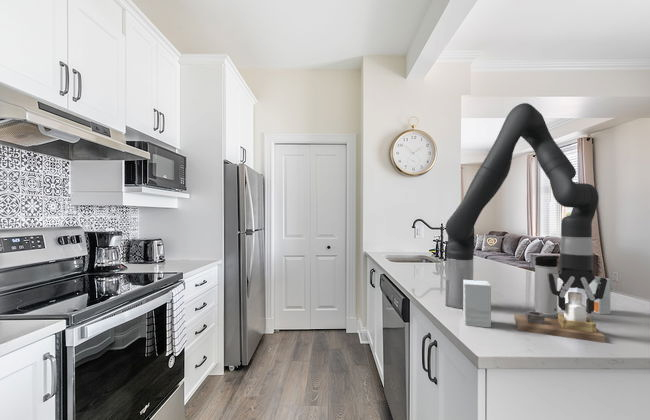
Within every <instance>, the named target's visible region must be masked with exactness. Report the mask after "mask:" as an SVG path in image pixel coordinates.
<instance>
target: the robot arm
mask: <svg viewBox="0 0 650 420" xmlns="http://www.w3.org/2000/svg"><path fill="white" fill-rule="evenodd" d="M520 138H522V139H523V140H524V141H526V142H527V144H529V146H530V147H531V148H532V149H533V150H532V151H534V153H535V156H536V159H537V162H538V164H539V166H540V168H541V169H542V171H543V173H544V174H545V176H546V177H547V178H548V180H549V183H550V187H551V192H552V195H553V198H554V200H555V201H556V202H557V203H558V204H559V205H560V206H562V207H564V208H572V209H571V210H572V211H571V212H570V214H569V215H567V216H564V217H563V218H562V220H561V232H560V234H561V235H560V243H559V256H560V257H559V269H558V271H557V273H553V274H551V273H548V274H547V276H548V281H549V285H550V290H551V292H552V293H553V294H554V295H557V307H558V308H560V310H561V311H563V312H564V311H565V303H566V295H567V294H568V292H569V290H570V288H571V289H576V288H577V289H581V290H583V291H584V294H585V293H586V295H587V297H588V299H586V314H588V315H589V314H592V312H593V311H594V301H595V300H596V299H602V298H603V296H604V292H605V288H606V284H607V279H608V278H607V279H606V277H604V276H596V275H595V274H594V272H593V271H594V269H593V268H594V267H593V266H594V261H593V260H594V259H593V258H594V255H593V254H594V245H593V238H592V237H593V236H592V235H593V225H592V222H593V220H594V218H595V215H596V212H597V208H598V205H599V198H600V197H599V192H598V190H597V188H596V187H595V186H594V185H592V184H590V183H582V182H581V183H579V182H578V183H577V182H574V180H573V179H574V178H575V177H576V175H577V171H576V169H575V167H574V165H573V163H572V162H571V161H570V160H569V158H568V157H567V156H566V155H565V153H564V152H563V150H562V149H561V148H560V147H559V145H558V144H557V142H556V141H555V140H554V138H553V136H552V135H551V133H550V130H549V128H548V126H547V123H546V121H545V118H544V116H543V115H542V114H541V112H540V111H539V110H537V109H536V107H534V106H533V105H532V104H530V103H528V102H523V103H519V104H518V105H516V106H514V107H513V108H512V109H511V110H510V112H508V114H507V116H506V118H505V120H504V122H503V124H502V125H501V128H500V130H499V133H498V134H497V137H496V139H495V141H494V143H493V145H492V146H491V148H490V150H489V151H488V154H487V155H486V156H485V159H484V160H483V162H482V163H481V165H480V166H479V168H478V170H477V172H476V173H475V175H474V176H473V179H472V180H471V183H470V184H469V186H468V188H467V190H466V193H465V195H464V197H463V199H462V200H461V202H460V204H459V205H458V206H457V208H456V209H455V211H454V212H453V213H452V215H451V216H450V217H449V218H448V220H447V221H446V224H445V232H446V235H447V249H446V271H445V272H446V278H445V306H447V307H448V306H449V307H451V308H456V309H463V280H474V255H475V254H474V252H475V225H476V222H478V221H477V220H478V218H479V216H480V215H481V213H482V211H483V210H484V208H485V207H486V206H487V205H488V204H489V203H490V202H491V200H492V199H493V198H494V197H495V196H496V194H497V192H498V191H499V190H500V189H501V187H502V186H503V183H504V182H505V181H506V179H507V177H508V176H509V173H510V170H511V167H512V160H513V154H514V151H515V147H516V145H517V143H518V141H519V140H520ZM558 278H560V279H561V281H562V284H561V285H560V289H557V290H556V285H555V281H556V280H557V281H558ZM594 279H595V281H596V283H597V284H598V285H597V289H596V293H595V294H593V293H592V291H591V289H590V287H589V284H590V283H591V282H592V281H593V280H594ZM593 313H594V312H593Z"/></svg>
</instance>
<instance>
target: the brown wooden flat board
mask: <svg viewBox="0 0 650 420" xmlns="http://www.w3.org/2000/svg"><path fill="white" fill-rule="evenodd" d="M525 312H526V313H525V314H526V315H525V314H517V313H514V315H513V316H514V322H515V327H516V330H517V331H519V332H520V331H521V332H525V333H526V332H527V333H535V334H541V335H547V336H548V335H549V336H556V337H562V338H570V339H576V340H577V339H578V340H585V341H593V342H598V343H605V342H606V336H605V335H604V334H603V333H602V332H601V331H600V330H599V329H598V328H597V323H596V322H595V321H594V320H593V319H591V317H589V316H588V315H586V322H581V321H573V320H566V319H565V318H564V313H560V312H557V318H545V316H544V314H543V313H541V312H535V311H532V310H525Z"/></svg>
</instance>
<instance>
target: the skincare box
mask: <svg viewBox="0 0 650 420" xmlns="http://www.w3.org/2000/svg"><path fill="white" fill-rule="evenodd" d="M605 278H606V277H605ZM606 279H607V284H606V288H605V292H604V296H603V298H602V299H596V300H595V301H594V311H593V313H595V314H598V315H610V314H611V281H612V280H611V279H610V278H606ZM597 285H598V284H597V283H596V281H595V279H594V280H593V281H592V282H591V283H590V284H589V287H590V289H591V291H592V293H593V294H595V293H596V289H597ZM586 299H588V297H587V295H586V293H585V292H584V306H585V307H586Z"/></svg>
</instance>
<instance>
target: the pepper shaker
mask: <svg viewBox="0 0 650 420" xmlns="http://www.w3.org/2000/svg"><path fill="white" fill-rule="evenodd" d="M582 296H583V294H582V293H580V292H576V291H567V300H568V301H567V303H566V302H565V311H563V314H564V318H565V319H566V320H573V321H581V322H586V316H587V312H586V307H585V304H583V303H582V301H583V297H582Z"/></svg>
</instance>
